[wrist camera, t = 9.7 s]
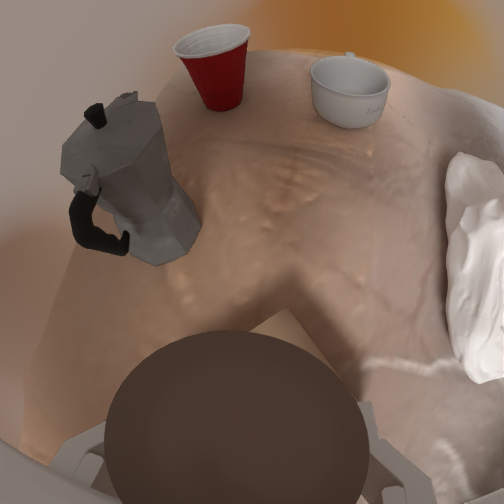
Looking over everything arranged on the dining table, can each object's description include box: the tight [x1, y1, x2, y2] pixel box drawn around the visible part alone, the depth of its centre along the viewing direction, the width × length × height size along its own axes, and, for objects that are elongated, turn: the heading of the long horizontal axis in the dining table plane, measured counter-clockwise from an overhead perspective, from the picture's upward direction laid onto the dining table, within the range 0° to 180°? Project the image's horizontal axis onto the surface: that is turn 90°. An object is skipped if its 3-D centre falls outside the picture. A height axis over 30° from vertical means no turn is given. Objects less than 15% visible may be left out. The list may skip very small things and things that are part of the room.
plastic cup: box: [172, 24, 250, 111], centre depth 39 cm, size 11×11×12 cm
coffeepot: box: [60, 91, 202, 266], centre depth 26 cm, size 15×9×18 cm, turn 179°
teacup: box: [310, 52, 391, 129], centre depth 38 cm, size 14×11×8 cm
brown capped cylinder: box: [104, 331, 370, 504], centre depth 9 cm, size 5×5×11 cm
